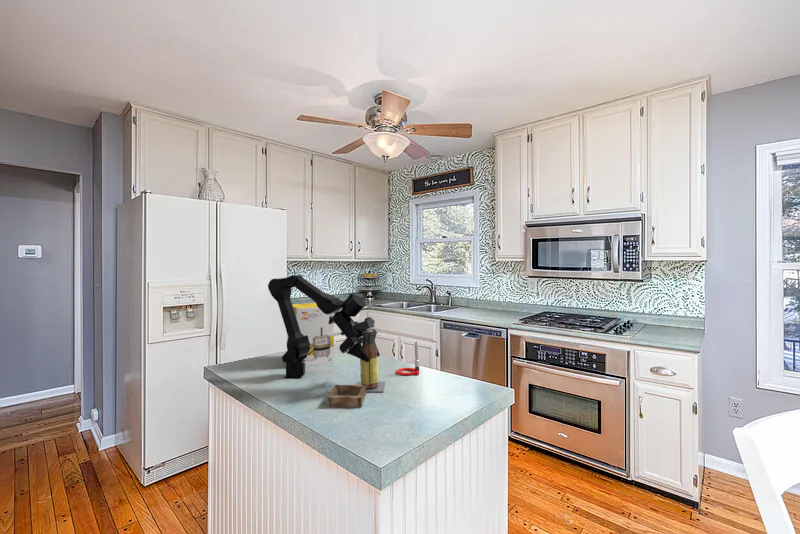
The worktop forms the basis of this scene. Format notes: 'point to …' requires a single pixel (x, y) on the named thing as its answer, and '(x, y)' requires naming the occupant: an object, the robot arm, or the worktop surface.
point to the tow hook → (414, 370)
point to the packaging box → (316, 333)
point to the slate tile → (375, 390)
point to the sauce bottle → (369, 368)
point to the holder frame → (347, 400)
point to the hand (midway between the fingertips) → (373, 358)
